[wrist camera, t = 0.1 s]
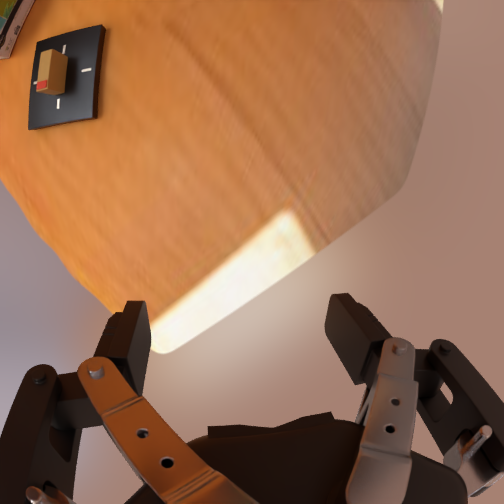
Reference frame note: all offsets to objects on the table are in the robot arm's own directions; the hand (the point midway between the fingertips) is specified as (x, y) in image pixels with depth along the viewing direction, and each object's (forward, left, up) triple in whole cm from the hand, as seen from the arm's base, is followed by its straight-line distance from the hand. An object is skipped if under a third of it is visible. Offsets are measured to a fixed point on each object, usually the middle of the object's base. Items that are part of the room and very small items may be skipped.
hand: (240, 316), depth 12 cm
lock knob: (-18, -22, -27) cm, 39 cm away
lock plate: (-18, -22, -29) cm, 41 cm away
